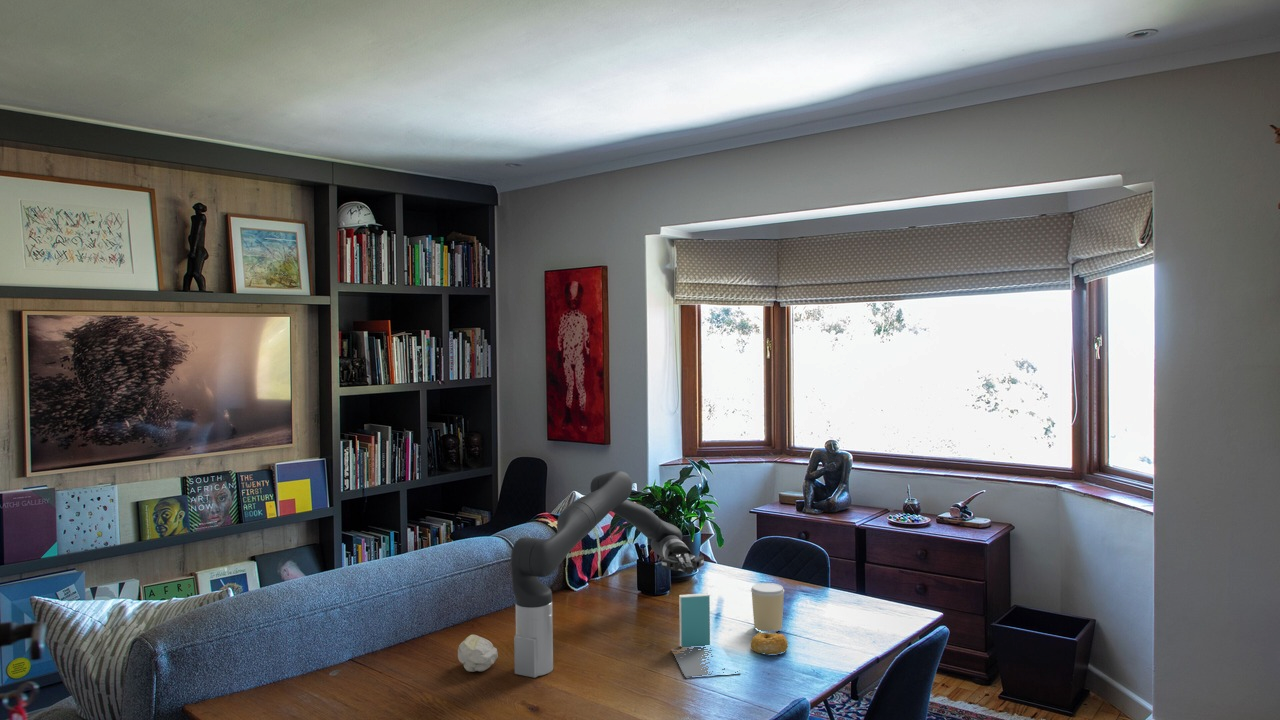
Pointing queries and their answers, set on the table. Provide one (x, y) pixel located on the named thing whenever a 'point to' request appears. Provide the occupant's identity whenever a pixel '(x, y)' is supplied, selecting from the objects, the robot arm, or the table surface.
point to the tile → (694, 619)
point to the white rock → (476, 653)
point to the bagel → (769, 643)
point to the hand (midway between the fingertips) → (689, 570)
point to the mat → (693, 661)
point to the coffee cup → (767, 606)
